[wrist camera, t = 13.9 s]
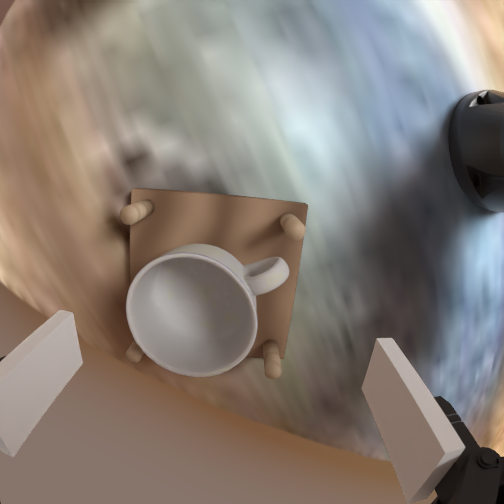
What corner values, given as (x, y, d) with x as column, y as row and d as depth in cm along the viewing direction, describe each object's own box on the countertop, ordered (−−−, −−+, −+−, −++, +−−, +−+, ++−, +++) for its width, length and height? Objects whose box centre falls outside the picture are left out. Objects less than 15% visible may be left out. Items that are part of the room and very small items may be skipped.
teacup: (173, 342, 33) (156, 387, 25) (135, 250, 30) (102, 277, 23) (298, 309, 32) (312, 351, 25) (269, 208, 30) (277, 223, 22)
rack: (305, 203, 31) (319, 212, 25) (282, 352, 35) (288, 386, 29) (136, 187, 30) (111, 193, 24) (137, 335, 35) (119, 366, 28)
